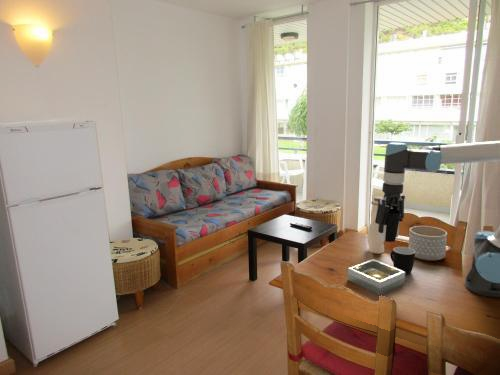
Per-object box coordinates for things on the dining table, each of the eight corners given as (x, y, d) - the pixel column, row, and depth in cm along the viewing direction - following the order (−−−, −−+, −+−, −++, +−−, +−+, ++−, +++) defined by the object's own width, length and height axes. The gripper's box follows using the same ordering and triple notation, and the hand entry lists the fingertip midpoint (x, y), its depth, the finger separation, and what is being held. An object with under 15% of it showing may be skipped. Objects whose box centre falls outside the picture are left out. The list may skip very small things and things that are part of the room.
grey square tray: (404, 284, 152) (405, 271, 150) (379, 295, 143) (380, 282, 142) (372, 270, 165) (373, 259, 164) (347, 280, 156) (348, 268, 155)
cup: (387, 244, 143) (390, 214, 141) (373, 237, 150) (376, 209, 147) (402, 241, 146) (405, 212, 144) (388, 235, 153) (390, 207, 150)
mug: (418, 274, 160) (419, 252, 158) (402, 277, 157) (403, 255, 155) (398, 263, 171) (399, 243, 169) (382, 267, 168) (383, 246, 166)
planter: (423, 264, 170) (425, 238, 168) (400, 251, 186) (402, 227, 183) (452, 260, 174) (455, 234, 172) (428, 247, 190) (430, 224, 187)
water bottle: (362, 247, 193) (365, 195, 187) (379, 246, 194) (382, 194, 188) (371, 254, 183) (374, 200, 177) (388, 253, 184) (391, 199, 178)
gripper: (400, 178, 152) (395, 230, 157) (367, 183, 141) (363, 240, 146) (417, 181, 145) (411, 235, 150) (384, 187, 134) (379, 246, 139)
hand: (388, 237), depth 148 cm, fingers closed on cup, 8 cm apart
